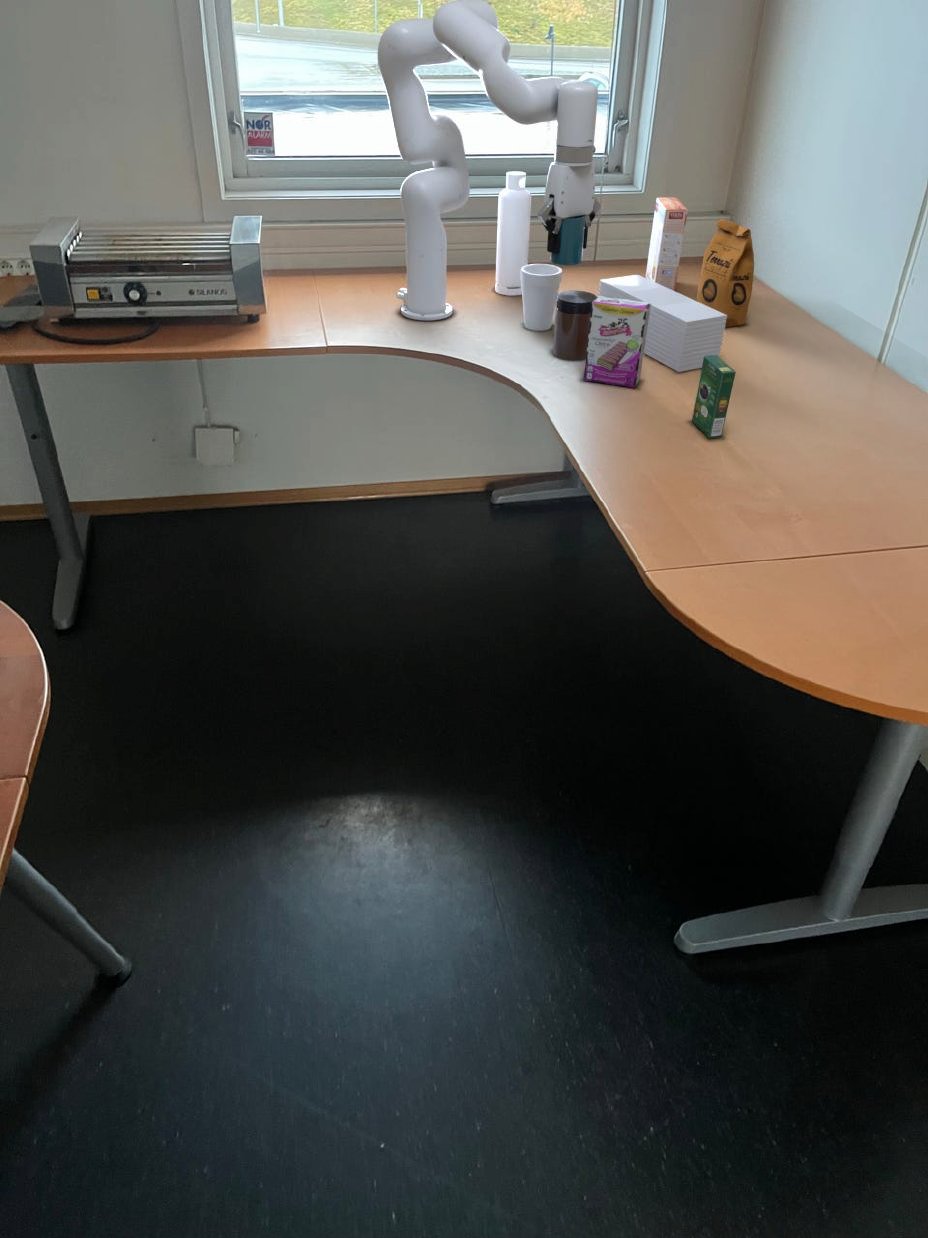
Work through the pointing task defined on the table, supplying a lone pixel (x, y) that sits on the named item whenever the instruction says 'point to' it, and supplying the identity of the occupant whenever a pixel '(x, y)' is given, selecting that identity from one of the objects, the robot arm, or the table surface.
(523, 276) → the foam cup
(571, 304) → the jar lid
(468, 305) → the table surface
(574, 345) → the jar
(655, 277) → the cracker box
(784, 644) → the table surface
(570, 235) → the cup
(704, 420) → the coffee box
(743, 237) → the coffee package
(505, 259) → the bottle
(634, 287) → the stack of papers
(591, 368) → the candy bar box
